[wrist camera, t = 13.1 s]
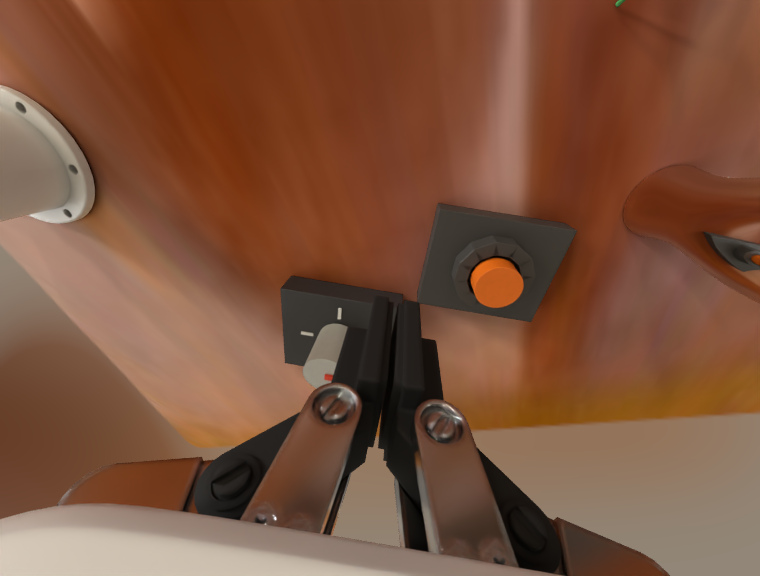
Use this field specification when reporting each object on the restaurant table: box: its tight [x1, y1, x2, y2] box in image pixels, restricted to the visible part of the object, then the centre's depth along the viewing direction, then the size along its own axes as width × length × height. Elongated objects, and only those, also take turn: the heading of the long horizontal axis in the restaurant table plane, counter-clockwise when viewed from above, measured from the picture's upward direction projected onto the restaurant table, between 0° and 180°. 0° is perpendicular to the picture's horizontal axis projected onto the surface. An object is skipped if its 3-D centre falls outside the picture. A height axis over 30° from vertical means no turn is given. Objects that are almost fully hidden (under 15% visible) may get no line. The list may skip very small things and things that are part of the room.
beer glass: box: [623, 165, 760, 303], centre depth 18 cm, size 7×7×15 cm
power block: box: [417, 203, 577, 322], centre depth 27 cm, size 12×10×4 cm
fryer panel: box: [281, 276, 403, 366], centre depth 33 cm, size 13×11×3 cm
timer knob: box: [303, 324, 348, 388], centre depth 30 cm, size 4×4×6 cm
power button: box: [470, 258, 524, 308], centre depth 25 cm, size 4×4×2 cm
